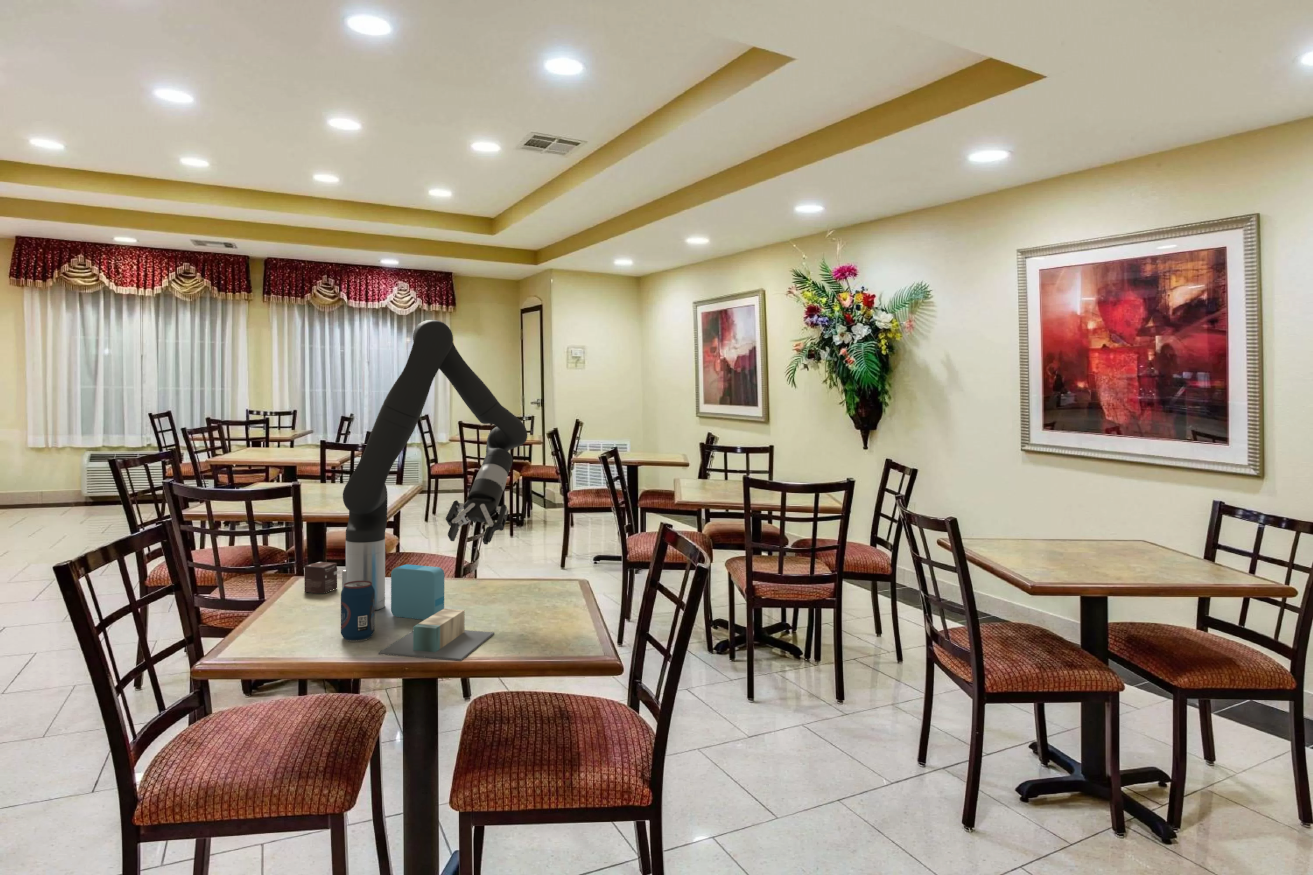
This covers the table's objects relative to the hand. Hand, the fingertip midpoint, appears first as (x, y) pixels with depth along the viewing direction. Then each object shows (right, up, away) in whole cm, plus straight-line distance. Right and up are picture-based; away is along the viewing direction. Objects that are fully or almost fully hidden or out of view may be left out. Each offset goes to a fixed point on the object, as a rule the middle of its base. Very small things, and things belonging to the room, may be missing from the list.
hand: (467, 541), depth 181 cm
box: (-46, -17, +26) cm, 56 cm away
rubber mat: (-2, -20, -16) cm, 26 cm away
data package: (-13, -19, +4) cm, 24 cm away
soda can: (-21, -20, -13) cm, 32 cm away
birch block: (-1, -17, -8) cm, 19 cm away
